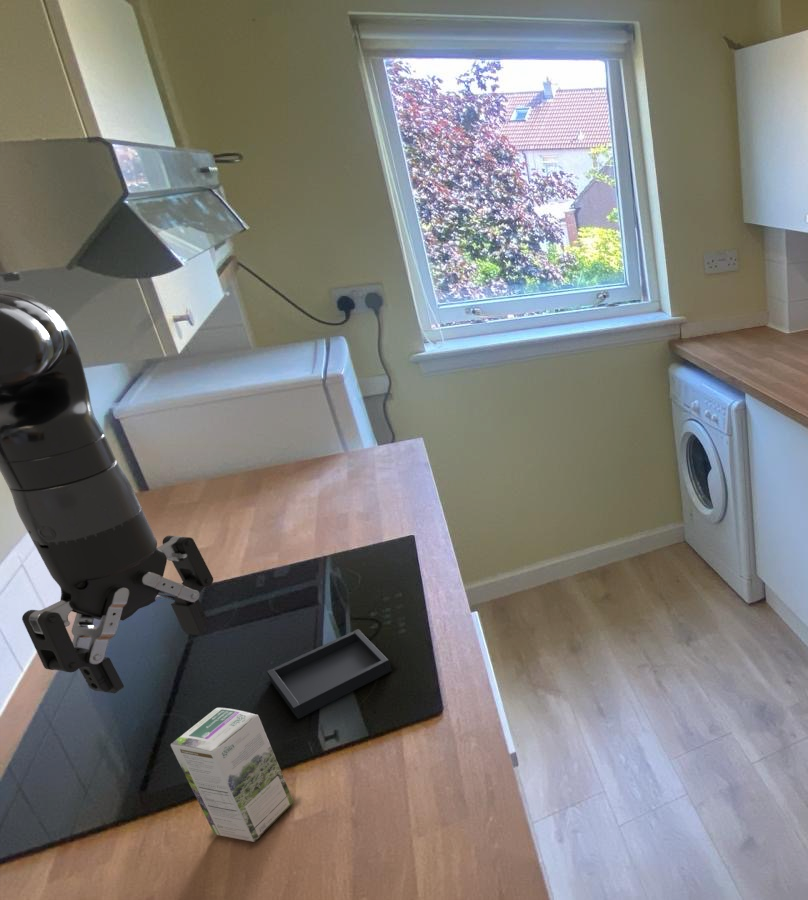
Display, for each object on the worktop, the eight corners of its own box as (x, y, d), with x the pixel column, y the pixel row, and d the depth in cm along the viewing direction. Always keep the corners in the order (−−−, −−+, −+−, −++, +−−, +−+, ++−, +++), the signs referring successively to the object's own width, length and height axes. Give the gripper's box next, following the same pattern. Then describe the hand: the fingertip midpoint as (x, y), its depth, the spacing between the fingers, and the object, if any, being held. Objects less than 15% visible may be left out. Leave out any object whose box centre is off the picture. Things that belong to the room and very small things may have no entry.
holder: (298, 719, 101) (293, 707, 100) (271, 682, 108) (266, 671, 107) (392, 671, 110) (388, 659, 109) (361, 639, 117) (358, 628, 116)
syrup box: (256, 795, 90) (214, 704, 84) (297, 802, 89) (257, 711, 83) (213, 835, 85) (165, 742, 79) (256, 844, 84) (210, 750, 78)
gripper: (131, 479, 73) (191, 612, 80) (-42, 557, 60) (46, 707, 67) (194, 484, 72) (249, 619, 78) (29, 564, 59) (113, 717, 66)
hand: (156, 659), depth 73 cm, fingers open, 8 cm apart
